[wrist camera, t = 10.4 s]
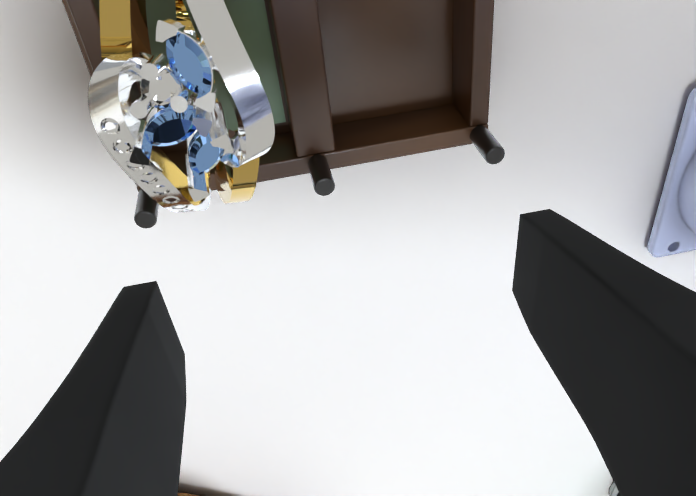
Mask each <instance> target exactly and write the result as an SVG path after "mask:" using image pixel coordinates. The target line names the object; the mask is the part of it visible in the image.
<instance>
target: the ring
mask: <svg viewBox="0 0 696 496" xmlns="http://www.w3.org/2000/svg"><path fill="white" fill-rule="evenodd" d="M175 6H176V17H177V21H175V20H172V19H169V18H167V19H162V20H158V22H157V26H156V41H158V42H165V41H166V54H167V58H168V62H169V64H168V63H167V59H166V57H165V56H164V55H163V54H161V53H156V54H154V55H153V56H152V54H151V48H150V42H149V35H148V27H147V16H146V0H99V10H100V42H101V58H102V62H101V63H100V64H99V65H98V66H97V68H96V69H95V71H94V73H93V75H92V77H91V80H90V83H89V89H88V105H89V111H90V116H91V119H92V122H93V125H94V128H95V130H96V132H97V134H98V136H99V138H100V140H101V142H102V144H103V145H104V147H105V148H106V150H107V151H108V152H109V154H110V155H111V156H112V158H113V159H114V160H115V161H116V163H117V164H118V165H119V166H120V167H121V168H122V169H123V170H124V171H125V173H126V174H127V175H128V176H129V177H130V178H131V179H132V180H133V181H134V182H135V183H136V184H137V185H138V186H140V187H141V188H142V189H143V190H144V191H145V192H146V193H147V194H148V195H149V196H150V197H151V198H152V199H154V200H155V201H156V202H157V203H158V204H160V205H161V206H162V207H164V208H165V209H167V210H169V211H171V212H188V211H202V210H206V209H207V208H208V207H209V205H210V200H211V174H210V170H211V169H212V170H213V175H214V179H215V183H216V187H217V190H218V193H219V195H220V198H221V199H222V201H223V202H224V203H225V204H229V203H238V202H247V201H249V200H250V199H251V198H252V196H253V193H254V190H255V187H256V182H257V176H258V168H259V158H260V156H262V155H264V154H265V153H267V152H268V151H269V150H270V148H271V147H272V144H273V141H274V136H275V126H274V119H273V114H272V110H271V107H270V104H269V101H268V98H267V96H266V93H265V91H264V88H263V86H262V84H261V82H260V79H259V77H258V75H257V73H256V71H255V69H254V67H253V64H252V62H251V60H250V58H249V56H248V54H247V52H246V50H245V48H244V45H243V43H242V41H241V39H240V37H239V35H238V33H237V30H236V28H235V26H234V24H233V21H232V19H231V17H230V14H229V12H228V10H227V7H226V5H225V2H224V0H175ZM214 70H215V72H216V74H217V76H218V78H219V80H220V82H221V84H222V86H223V88H224V90H225V92H226V94H227V96H228V98H229V100H230V102H231V104H232V106H233V109H234V111H235V114H236V118H237V122H238V130H235V131H232V130H230V129H228V126H227V121H226V116H225V112H224V109H223V106H222V104H221V102H220V101H218V100H217V94H218V84H217V83H215V77H214ZM136 81H141V84H140V90H141V93H140V95H139V96H138V97H137V99H136V100H135V101H134V102H133V104H132V102H131V97H130V90H131V86H132V84H133V83H134V82H136ZM152 106H153V107H154V108H153V109H152V110H151V112H150V113H149V115H148V116H147V119H146V121H144V120H142V118H144V117H145V116H146V115H147V114H148V112H149V111H150V109H151V108H152ZM139 119H141V121H139ZM185 139H186V146H187V154H185V159H186V169H187V176H186V175H185V174H184V173H183V172H182V171H181V170H180V169H179V168H178V167H177V166H176V165H175V164H174V163H173V162H172V161H171V160H170V159H169V158H168V156H167V155H166V154H165V153H164V152H163V151H162V150H161V149H160V147H159V146H169V145H174V144H177V143H180V142H182V141H184V140H185Z"/></svg>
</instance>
